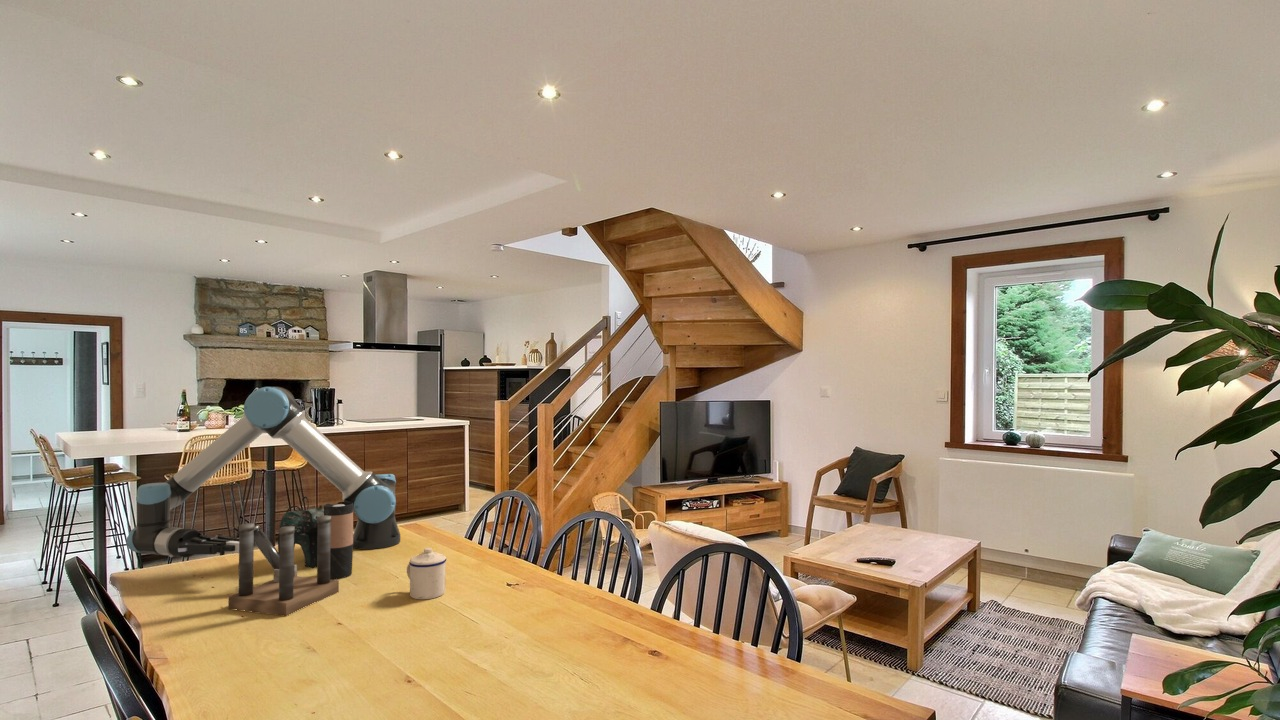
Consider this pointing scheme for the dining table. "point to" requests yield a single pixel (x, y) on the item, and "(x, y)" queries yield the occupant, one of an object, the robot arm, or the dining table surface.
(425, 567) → the teacup with lid
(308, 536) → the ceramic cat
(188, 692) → the dining table surface
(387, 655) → the dining table surface
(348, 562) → the travel mug
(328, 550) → the stool
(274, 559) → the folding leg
